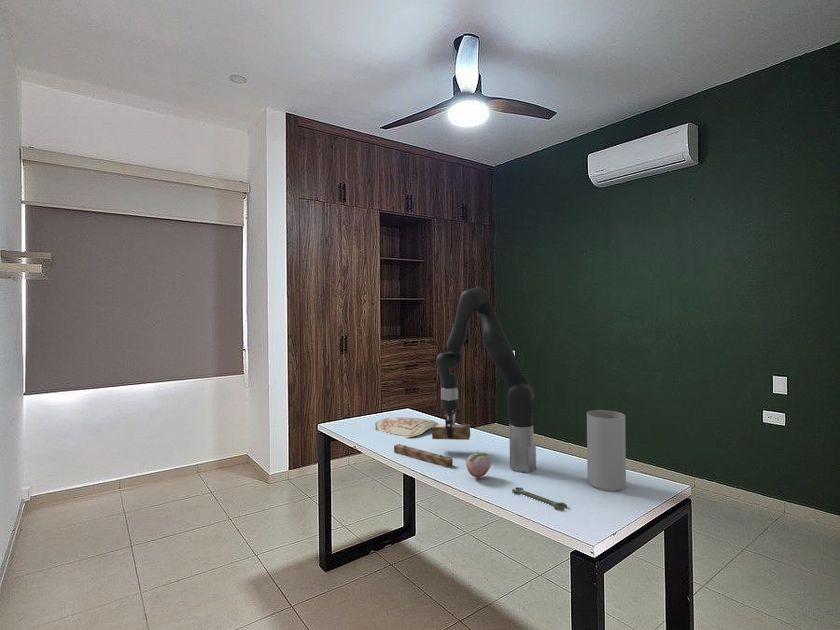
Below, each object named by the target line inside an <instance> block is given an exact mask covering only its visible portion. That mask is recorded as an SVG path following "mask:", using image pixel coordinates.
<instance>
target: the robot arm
mask: <svg viewBox="0 0 840 630" xmlns="http://www.w3.org/2000/svg"><path fill="white" fill-rule="evenodd" d="M493 307H494V306H493V305H492V301H491V299H490V296H489V295H488V293H487V291H486V289H484V288H483V287H478V286H477V287H472V288H468V289H466V290H464V291H462V292H461V294H460V297H459V300H458V303H457V309H456V314H455V318H454V322H453V325H452V328H451V332H450V334H449V336H448V339H447V341H446V344H445V347H446V350H448V352H441V353H439V354H438V355H436V361H435V365H436V367H437V370H438V373H439V377H440V387H441V388H440V405H441V409H442V410H445V411H446V412H445V414H444V418H445V419H444V420H445V421H444V424H446V429H447V437H448V438H452V437H453V433H452V429H453V428H452V427H453V424H456V410H458V409H459V390H458V376H457V375H456V374H455V373H450V369H453V368H454V369H455V368H457V367H458V366H459V364H460V363H461V359H462V351H463V347H464V345H465V342H466V340H467V336H468V325H469V324H468V323H469V320H470V318H471V317H472V315H473V313H474V312H476V313H477V315H478V317H479V319H480V322H481V324H482V337H483V338H482V340H483V344H484V346H485V349H486V351H487V352H488V353H487V354H488V355H489V357H490V359H491V361H492V362H493V364H494V365H495V366H496V367H497V368H498V370H499V371H500V372H501V373H502V375H503V376H504V379H505V381H506V383H507V386H508V392H507V397H506V398H507V417H508V424H509V425H508V427H509V430H508V431H509V434H508V435H509V436H508V437H509V468H510V469H511V470H512V471H514V472H520V473H527V474H528V473H530V472H532V471H534V470H535V469H537V452H536V451H537V445H536V444H535V443H534V438H535V437H534V418H533V402H532V401H534V397H535V393H534V389H533V387H532V385H531V384H530V382H529V381H528V379H527V377H526V376H525V374H524V373H523V371H522V369H521V367H520V365H519V362H518V360H517V357H516V355H515V352H514V351H513V348H512V345H511V343H510V342H509V340H508V338H507V336H506V333H505V332H504V330H503V327H502V325H501V323H500V322H499V319H498V317H497V315H496V313H495V310H494V308H493ZM448 424H450V426H448Z"/></svg>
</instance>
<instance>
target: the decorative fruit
mask: <svg viewBox="0 0 840 630" xmlns="http://www.w3.org/2000/svg"><path fill="white" fill-rule="evenodd" d="M488 456H489V454H488V453H487V452H484V451H483V452H482V451H481V452H479V451H477V453H473V454H471V455H469V456H468V457H467V458H466V460H465V461H466V462H465V466H466V469H467V471H468V473H469V475H471V476H472V477H474V478H476V479H480V478H482V477H484V476H485V475H486V474H487V473H488V472H489V470H490V468H491V460H490V458H489V457H488Z"/></svg>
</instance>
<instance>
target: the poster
mask: <svg viewBox="0 0 840 630" xmlns="http://www.w3.org/2000/svg"><path fill="white" fill-rule="evenodd" d="M434 424H439V422H437V421H434V420H432V419H427V418H421V417H408V416H407V417H403V416H402V417H385V418H382V419H380V420H378V421H376V422H375V431H376V432H378V431H382V432H381V433H384V432H386V433H385V434H388V433H390V434H389V435H393V434H394V435H393V436H399V437H402V436H403V437H402V438H405V439H408V438H413V437H416V436H419V435H421V434H423V433H425V431H427V430H428V429H431V428H432V427H433V425H434ZM377 430H378V431H377Z"/></svg>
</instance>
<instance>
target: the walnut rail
mask: <svg viewBox="0 0 840 630" xmlns="http://www.w3.org/2000/svg"><path fill="white" fill-rule="evenodd" d="M393 446H394V447H393V450H394V451H393V453H395V454H398V455H402V456H405V457H409V458H412V459H416V460H420V461H422V462H427V463H430V464H433V465H437V466H440V465H441V466H440V467H444V468H447V469H448V468H451V467H452V466H454V463H453V462H454V459H453V457H449V456H446V455H442V454H438V453H435V452H434V453H433V452H431V451H426V450H424V449H420V448H416V447H412V446H408V445H406V444H405V445H403V444H399V443H398V444H395V445H393Z"/></svg>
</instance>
